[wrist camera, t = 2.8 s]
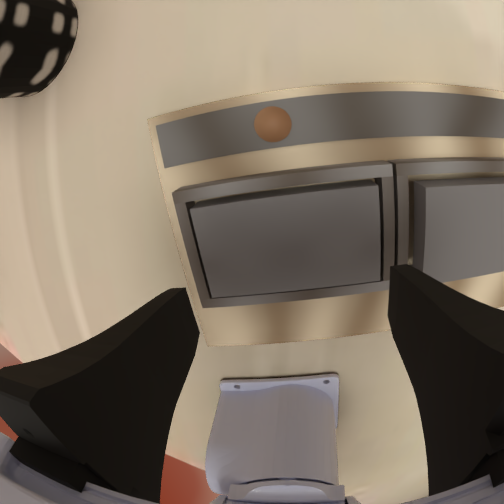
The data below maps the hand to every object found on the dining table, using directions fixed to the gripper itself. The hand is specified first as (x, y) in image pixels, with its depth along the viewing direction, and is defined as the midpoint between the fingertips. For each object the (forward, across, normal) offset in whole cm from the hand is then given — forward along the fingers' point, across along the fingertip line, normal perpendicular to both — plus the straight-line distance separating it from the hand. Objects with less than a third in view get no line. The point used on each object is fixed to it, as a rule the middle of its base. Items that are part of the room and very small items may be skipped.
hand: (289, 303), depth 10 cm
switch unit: (+8, -11, 0) cm, 14 cm away
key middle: (+5, -11, 0) cm, 12 cm away
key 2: (+6, 0, 0) cm, 6 cm away
